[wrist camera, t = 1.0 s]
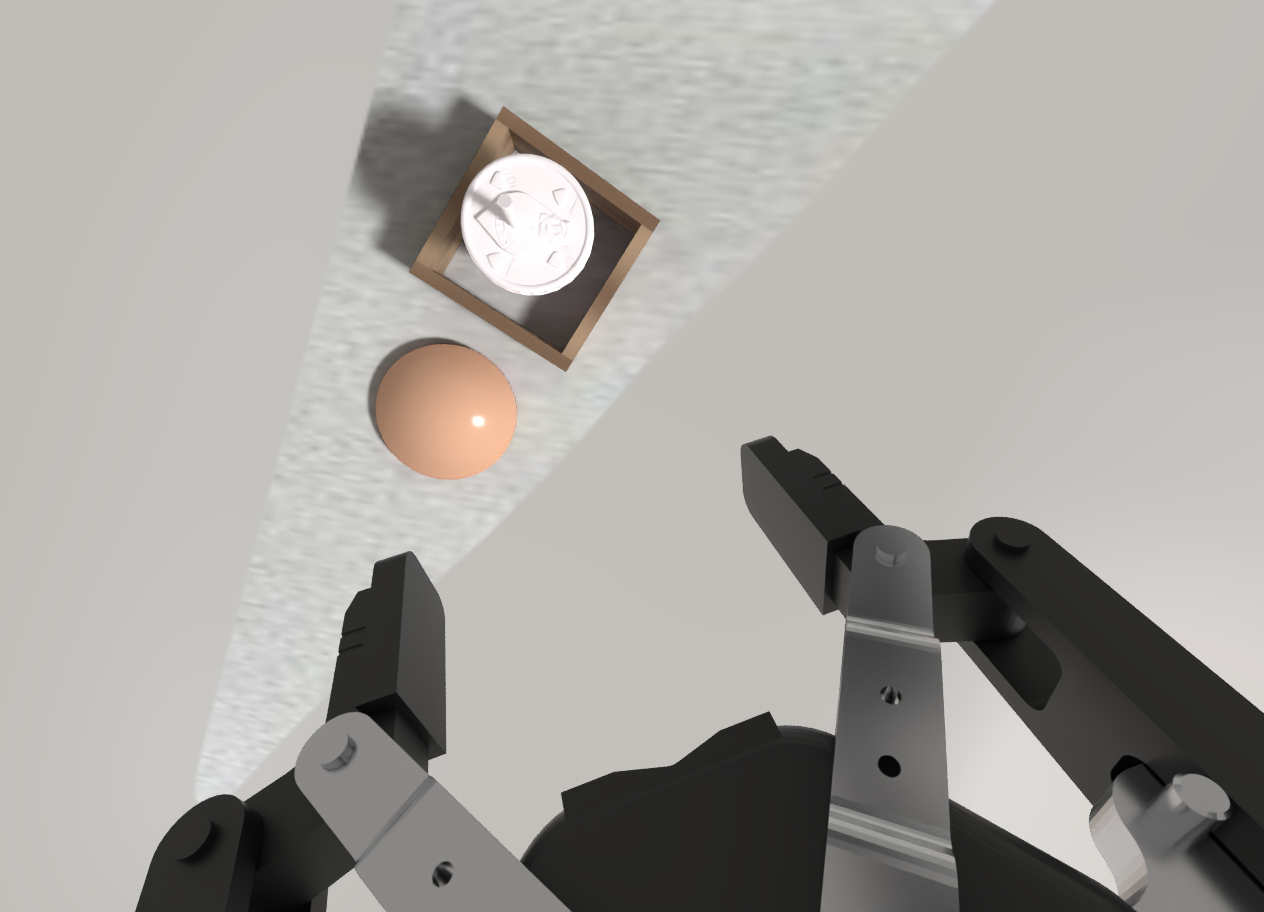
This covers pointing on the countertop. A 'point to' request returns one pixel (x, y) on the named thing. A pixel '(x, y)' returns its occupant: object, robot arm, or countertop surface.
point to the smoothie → (527, 224)
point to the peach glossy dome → (446, 411)
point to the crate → (601, 194)
